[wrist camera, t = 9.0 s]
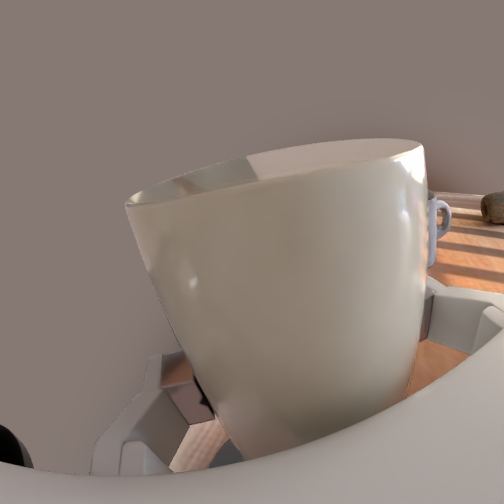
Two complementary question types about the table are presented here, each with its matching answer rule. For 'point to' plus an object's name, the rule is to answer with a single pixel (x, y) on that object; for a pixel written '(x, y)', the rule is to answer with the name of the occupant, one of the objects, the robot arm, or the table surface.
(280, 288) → the cream canister
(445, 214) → the coffee mug
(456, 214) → the table surface
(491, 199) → the stone weight
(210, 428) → the table surface
